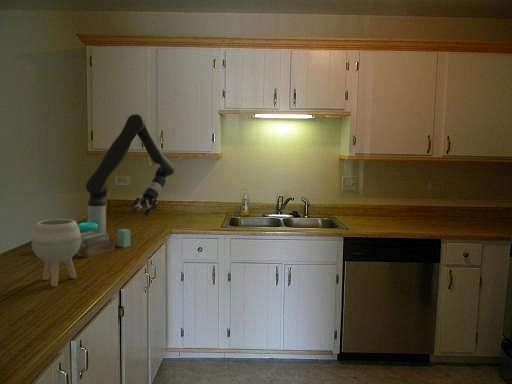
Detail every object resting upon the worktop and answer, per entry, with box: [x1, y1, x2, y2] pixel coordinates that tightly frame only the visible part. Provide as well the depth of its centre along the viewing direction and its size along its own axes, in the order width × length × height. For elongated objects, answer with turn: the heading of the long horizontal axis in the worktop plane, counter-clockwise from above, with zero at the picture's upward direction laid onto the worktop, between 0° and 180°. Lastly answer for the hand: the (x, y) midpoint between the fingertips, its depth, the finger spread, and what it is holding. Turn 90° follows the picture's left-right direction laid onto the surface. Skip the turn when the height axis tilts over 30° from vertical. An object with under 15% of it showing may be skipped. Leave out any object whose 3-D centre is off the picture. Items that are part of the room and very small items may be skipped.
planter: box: [31, 218, 81, 288], centre depth 142 cm, size 16×16×22 cm
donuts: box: [77, 221, 98, 232], centre depth 205 cm, size 10×10×10 cm
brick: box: [116, 228, 131, 248], centre depth 198 cm, size 4×4×8 cm
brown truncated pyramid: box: [74, 231, 116, 258], centre depth 187 cm, size 17×17×8 cm
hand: (138, 214), depth 208 cm, fingers open, 8 cm apart
